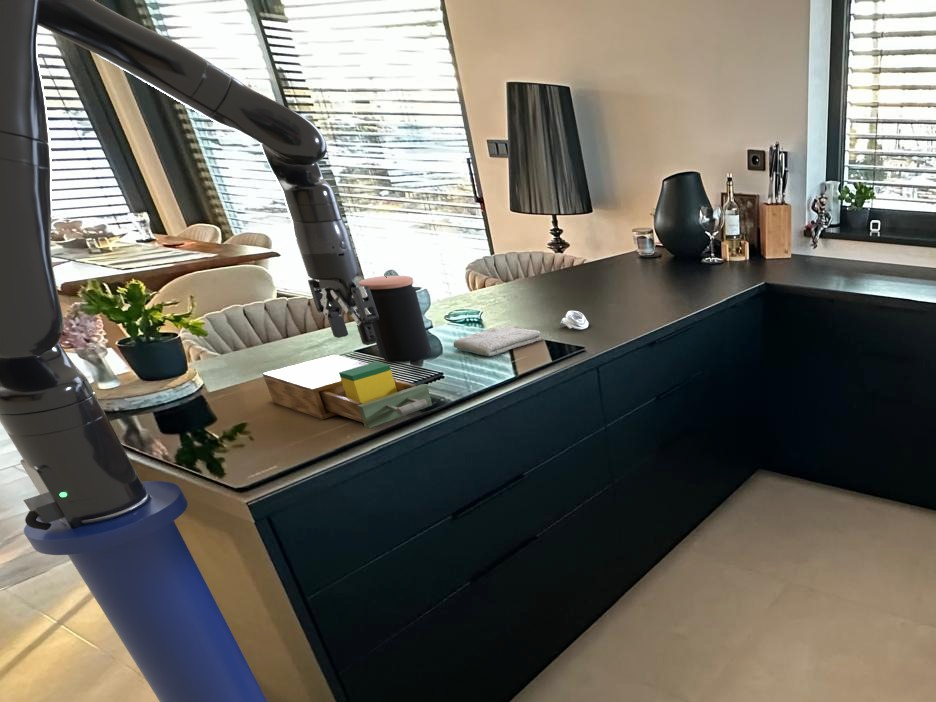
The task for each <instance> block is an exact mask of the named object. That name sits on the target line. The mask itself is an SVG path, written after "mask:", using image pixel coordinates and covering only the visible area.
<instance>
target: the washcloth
mask: <svg viewBox="0 0 936 702" xmlns="http://www.w3.org/2000/svg"><path fill="white" fill-rule="evenodd" d="M542 339H543V338H542V336H541V331H539V330H535V329H526V328H523V327H521V326H518V325H517V326H515V325H506V326H503V327H491V328H489V329H487V330H483V331H480V332H475V333H473V334H470V335H467V336H464V337H459V338H458V339H456V340H455V341H454V342H453V345H452V346H453V347H454V348H455V349H456V350H458V351H461V352H467V353H473V354H476V355H481V356H485V357H493V356H496V355H499V354H502V353H505V352H508V351H510V350H513V349H515V348H519V347H524V346H527V345H531V344H533V343H535V342H540V341H542Z"/></svg>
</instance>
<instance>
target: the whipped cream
mask: <svg viewBox="0 0 936 702" xmlns="http://www.w3.org/2000/svg"><path fill="white" fill-rule="evenodd" d="M559 327H561V328H564V327H567V328H568V329H570V330H571V329H572V328H573V329H574V330H575V329H576V330H585V329H588V327H589V321H588V320H587V317H586V316H585V315H584V313H582V312H581V311H577V310H568V311H567V312H566V314H565V317H563V318H562V319H561V321H560V323H559Z"/></svg>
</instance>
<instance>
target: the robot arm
mask: <svg viewBox="0 0 936 702" xmlns="http://www.w3.org/2000/svg"><path fill="white" fill-rule="evenodd" d="M38 26H39V27H41V28H43V29H45V30H47V31H50V32H51V33H53V34H56V35H57V36H59V37H61V38H64V39H66V40H68V41H70V42H72V43H74V44H76V45H78V46H80V47H82V48H84V49H85V50H88V51H89V52H91V53H93V54H95V55H97V56H98V57H101V58H102V59H104V60H106V61H108V62H110V63H111V64H113V65H115V66H117V67H119V68H120V69H121V70H124V71H126V72H127V73H129V74H131V75H133V76H134V77H136V78H138V79H139V80H141V81H142V82H144V83H147V84H148V85H150V86H151V87H154V88H155V89H157V90H159V91H160V92H162V93H164V94H166V95H167V96H169V97H171V98H173V99H174V100H176V101H177V102H180V103H181V104H183V105H185V106H186V107H188V108H189V109H192V110H194V111H195V112H197V113H199V114H200V115H202V116H205V117H206V118H208V119H210V120H211V121H213V122H214V123H215V122H216V123H217V124H219V125H222V126H223V127H227V128H230V129H233V130H235V131H238V132H239V133H242V134H244V135H245V136H247V137H249V138H251V139H252V140H254V141H256V142H257V143H259V144H260V147H261V149H262V152H263V154H264V158H265V159H266V161H267V163H268V165H269V167H270V169H271V172H272V174H273V176H274V178H275V179H276V182H277V183H278V185H279V187H280V189H281V191H282V194H283V198H284V202H285V205H286V208H287V212H288V214H289V218H290V220H291V224H292V227H293V233H294V239H295V241H296V244H297V247H298V250H299V253H300V256H301V259H302V262H303V264H304V268H305V270H306V274H307V276H308V277H309V279H308V280H307V282H308V287H309V290H310V293H311V296H312V299H313V302H314V306H315V309H316V311H317V312H318V313H320V314H321V313H323V316H324V318H326V319H327V320H328V324H329V326H330V329H331V333H332V336H333V337H334V338H337V339H340V338H344V337H348V335H349V332H348V329H347V325H346V321H345V319H344V316H343V315H342V314H343V311H344V312H345V314H346V315H349V316H351V318H352V319H353V321H354V322H355V323H356V327H357V331H358V333H359V337H360V341H361V343H362V345H364V346H371V345H373V344H376V342H377V339H376V335H375V332H374V329H373V325H372V322H373V321H375V320H379V315H378V312H377V309H376V306H375V303H374V300H373V297H372V294H371V291H370V288H369V287H368V286H367V285H366V286H358V284H357V282H356V281H355V277H356V276H359V275H360V274H361V268H360V266H359V265H360V264H359V262H358V258H357V255H356V252H355V249H354V245H353V242H352V238H351V234H350V233H349V230H348V228H347V226H346V223H345V221H344V219H343V214H342V211H341V207H340V204H339V201H338V198H337V195H336V193H335V190H334V188H333V187H332V185H330V184H329V183H328V182H327V181H326V180H325V178H324V176H323V172H322V170H321V168H320V165H319V163H320V162H321V161H322V160H323V159H324V158H325V156H326V154H327V151H328V150H327V147H328V146H327V142H326V138H325V136H324V135H323V133H322V132H321V130H320V129H319V128H318V127H317V126H316V125H315V124H314V123H312V122H311V121H310V120H308V119H307V118H306V117H304V116H302V115H300V114H299V113H297V112H296V111H294V110H292V109H291V108H288V107H287V106H285V105H283V104H281V103H279V102H277V101H276V100H274V99H272V98H269V97H268V96H266V95H263V94H262V93H260V92H258V91H256V90H254V89H252V88H251V87H249V86H247V85H246V84H244V83H243V82H241V81H240V80H238V78H236V77H234V76H233V75H231V74H229V73H227V72H226V71H224V70H223V69H221V68H219V67H218V66H217V65H214V63H212V62H210V61H208V60H207V59H205V58H204V57H202V56H200V55H199V54H198V53H196V52H194V51H193V50H191V49H188V48H187V47H185V46H184V45H181V44H180V43H178V42H176V41H174V40H173V39H170V38H168V37H166V36H164V35H162V34H160V33H158V32H156V31H154V30H151V29H150V28H147V27H145V26H144V25H141V24H139V23H137V22H135V21H133V20H131V19H129V18H127V17H125V16H123V15H121V14H120V13H117V12H116V11H114V10H112V9H110V8H108V7H106V6H105V5H103V4H101V3H100V2H98V1H96V0H0V424H1V426H2V427H3V429H4V431H5V432H6V434H7V435H8V438H9V439H10V440H11V442H12V444H13V445H14V447H15V448H16V450H17V452H18V453H19V455H20V456H21V459H20V461H19V462H20V464H21V466H22V468H23V469H24V471H25V473H26V475H28V478H29V479H30V481H31V482H32V484H33V486H34V488H35V489H36V490H37V492H38V493H39V494H38V495H35V496H32V497H29V498H25V499H23V502H24V504H25V505H26V508H28V510H29V511H28V512H27V514H26V516H25V519H24V522H25V525H28V526H29V527H32V528H35V529H42V530H48V529H49V528H50V527H51V525H52V524H50V523H49V522H52V521H55V520H58V521H60V522H61V523H62V524H64V525H66V526H68V527H70V528H71V529H75V528H78V527H81V526H84V525H90V524H95V523H100V522H104V521H108V520H112V519H115V518H118V517H121V516H124V515H126V514H129V513H131V512H133V511H135V510H137V509H139V508H140V507H142V506H144V505H145V504H146V503H147V502H148V501H149V499H150V495H149V493H148V491H147V490H145V487H144V485H143V484H142V482H143V481H142V480H141V479H140V477H139V474H138V473H137V471H136V469H135V467H134V464H133V463H132V461H131V459H130V457H129V456H128V453H127V452H126V450H125V448H124V446H123V444H122V442H121V441H120V438H119V436H118V435H117V433H116V431H115V429H114V427H113V425H112V424H111V421H110V420H109V418H108V416H107V414H106V412H105V410H104V408H103V407H102V404H101V403H100V400H99V399H98V396H97V395H96V393H95V391H94V388H92V385H91V384H90V383H91V382H89V381H90V380H88V378H87V376H86V375H85V374H84V373H83V372H82V371H81V370H80V369H79V368H78V367H77V365H75V364H74V362H73V361H72V360H71V358H70V357H69V355H68V354H67V353H66V351H65V348H63V346H62V344H61V342H60V340H61V338H62V336H63V333H64V330H65V329H64V328H65V323H64V316H63V309H62V306H61V302H60V301H61V300H60V296H59V292H58V286H57V281H56V277H55V271H54V266H53V259H52V247H51V245H52V244H51V243H52V242H51V241H52V222H53V221H52V218H53V212H52V211H53V209H52V208H53V207H52V206H53V205H52V203H53V201H52V175H53V174H52V173H53V172H52V171H53V170H52V152H51V151H52V150H51V145H50V144H51V138H50V129H49V120H48V110H47V104H46V97H45V91H44V86H43V81H42V76H41V71H40V65H39V58H38ZM368 307H369V309H370V312H371V314H370V312H369V311H368V310H367V308H368ZM37 518H38V519H39V520H41V521H43V522H39V521H37V520H36V519H37Z"/></svg>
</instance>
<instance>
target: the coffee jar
mask: <svg viewBox="0 0 936 702" xmlns="http://www.w3.org/2000/svg"><path fill="white" fill-rule="evenodd" d="M385 276H387V278H386V277H385ZM413 284H414V278H413V277H412V276H408V275H382V276H373V277H368V278H364V279H361V280H359V281H358V285H359V286H358V287H360V286H366V285H367V286H368V287H369V288H370V291H371V294H372V297H373V300H374V303H375V306H376V309H377V312H378V315H379V320H375V321H373V322H372V325H373V329H374V332H375V335H376V339H377V342H376V343H375V344H376V348H377V352H378V354H379V356H380V358H382V359H383V360H384V361H386V362H389V363H407V362H414V361H417V360H418V361H419V360H421V359H424V358H426V357H428V356H429V355H430V352H431V343H430V340H429V337H428V333H427V329H426V325H425V321H424V317H423V313H422V309H421V305H420V301H419V297H418V293H417V290H416V287H414V286H413ZM367 310H368V311H369V312H370V309H369V307H368V308H367ZM370 314H371V312H370Z"/></svg>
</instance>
